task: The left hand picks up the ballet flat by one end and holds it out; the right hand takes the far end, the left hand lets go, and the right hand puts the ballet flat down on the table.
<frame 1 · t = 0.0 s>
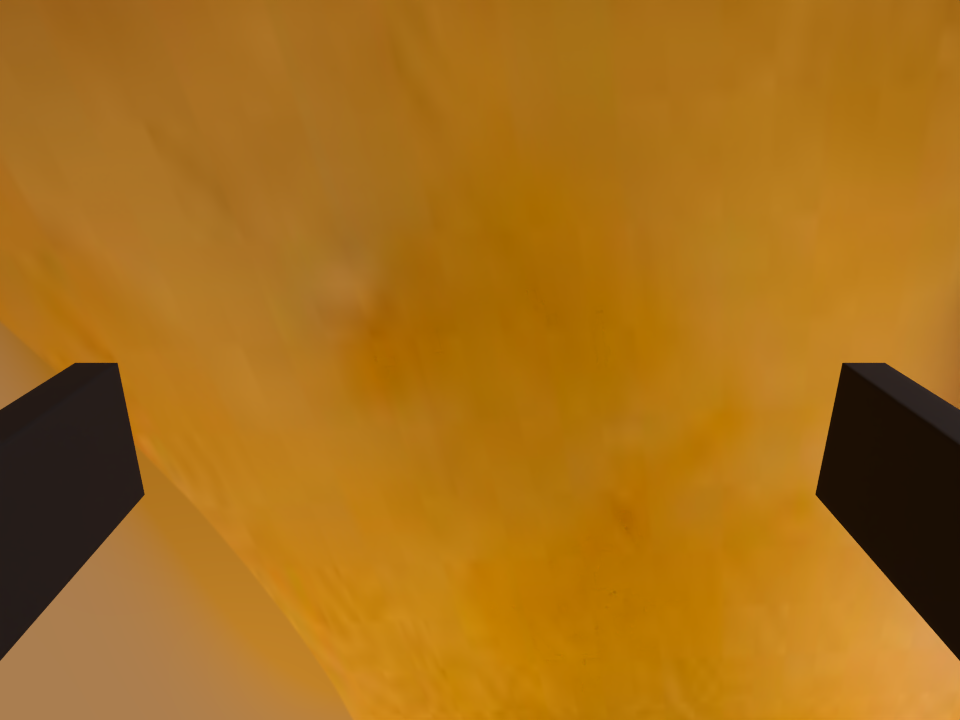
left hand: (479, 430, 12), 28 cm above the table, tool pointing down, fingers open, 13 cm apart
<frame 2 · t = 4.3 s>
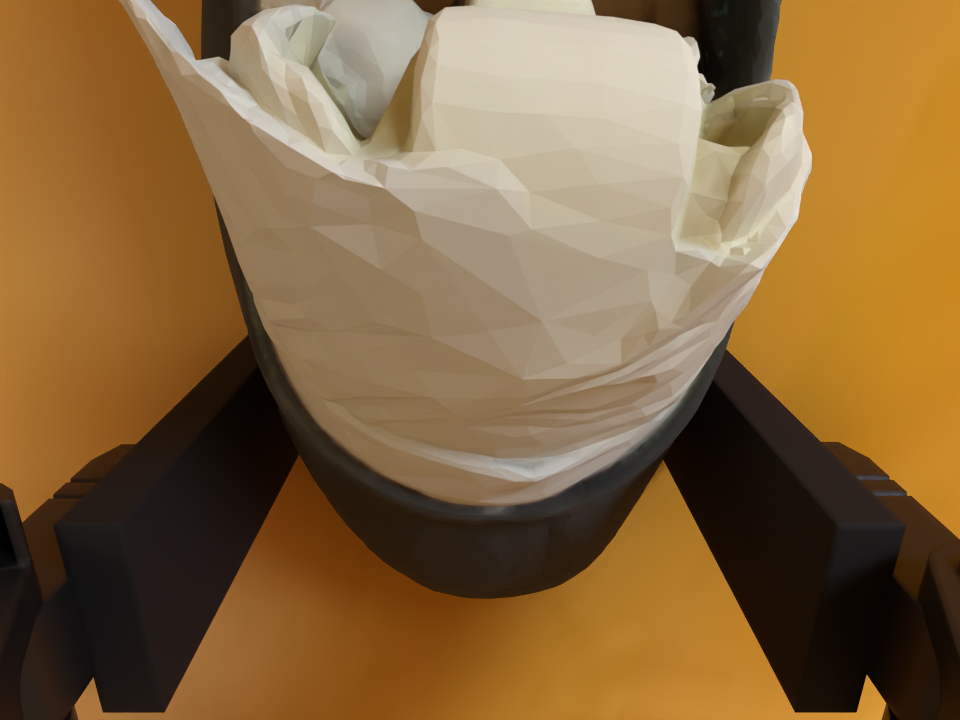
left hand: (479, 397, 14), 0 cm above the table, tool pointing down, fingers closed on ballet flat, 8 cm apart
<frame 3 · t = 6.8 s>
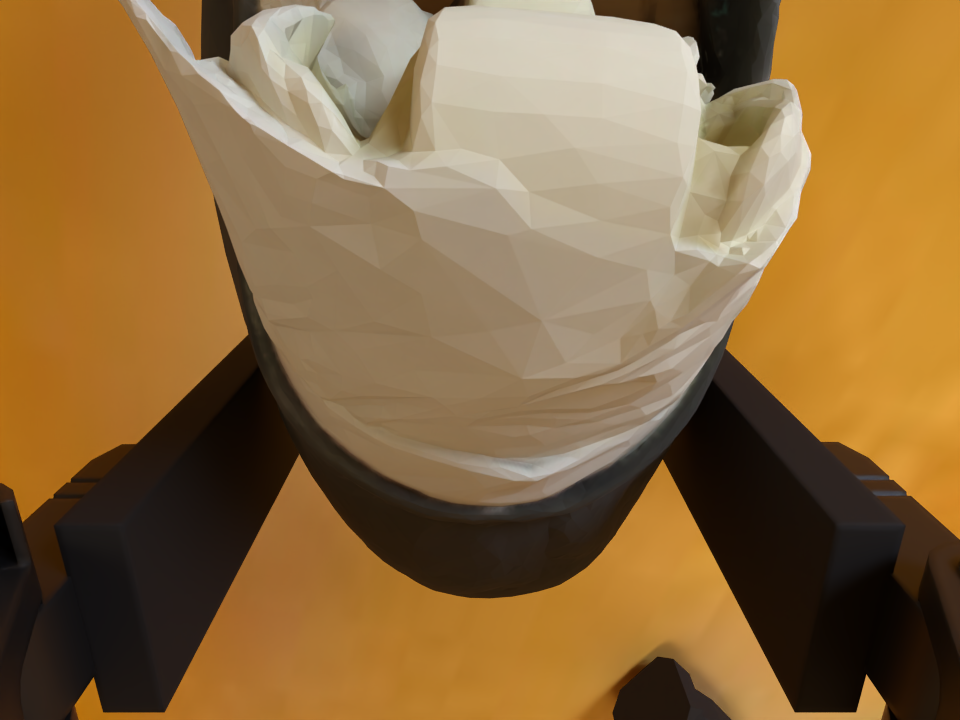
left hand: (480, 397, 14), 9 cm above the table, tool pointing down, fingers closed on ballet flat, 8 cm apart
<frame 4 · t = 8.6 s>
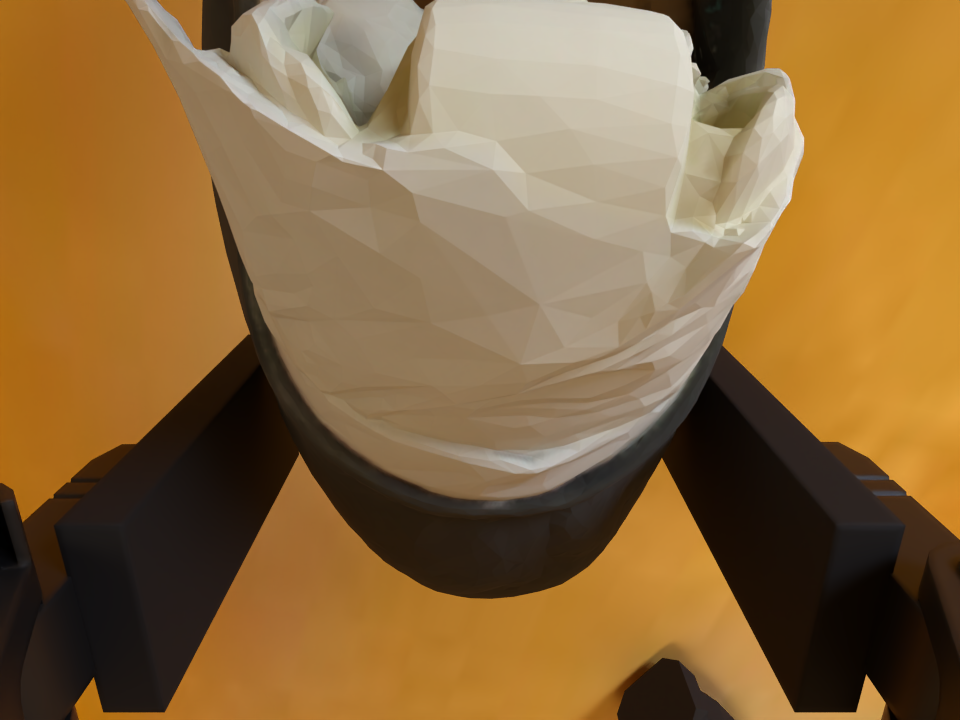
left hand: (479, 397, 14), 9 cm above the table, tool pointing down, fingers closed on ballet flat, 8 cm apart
when the left hand's fingers open (9 cm above the table, at t = 9.6 s): ballet flat stays where it is, held by the right hand.
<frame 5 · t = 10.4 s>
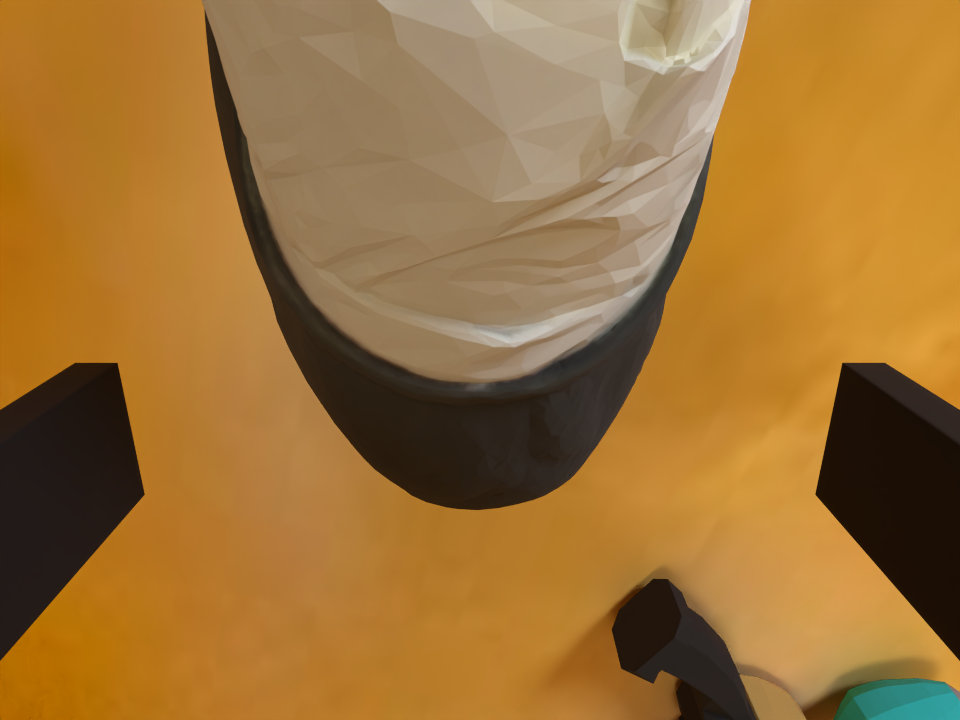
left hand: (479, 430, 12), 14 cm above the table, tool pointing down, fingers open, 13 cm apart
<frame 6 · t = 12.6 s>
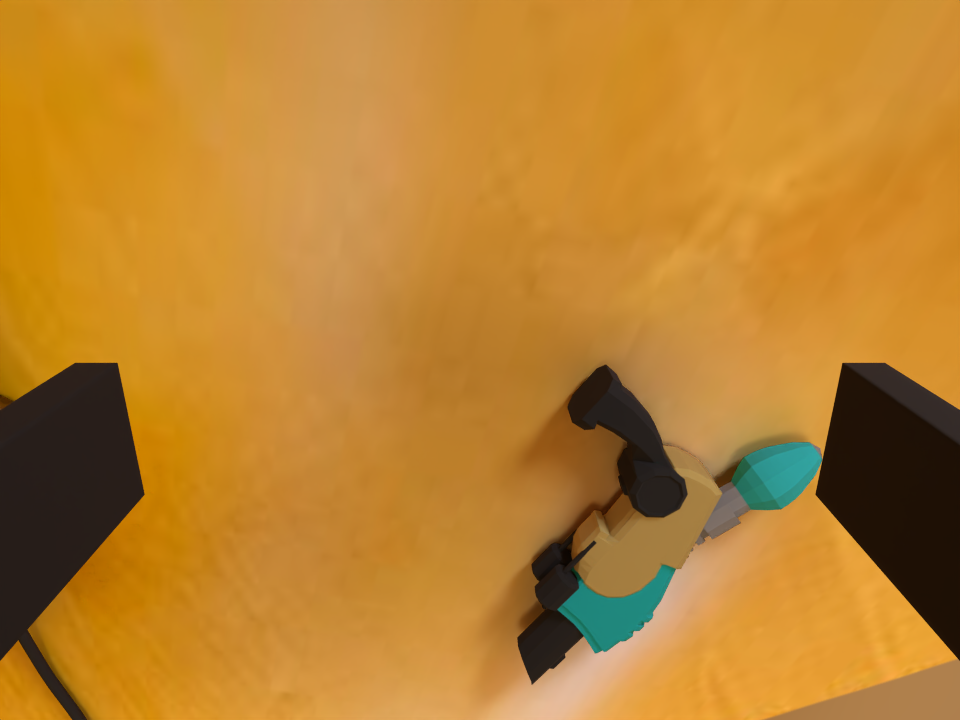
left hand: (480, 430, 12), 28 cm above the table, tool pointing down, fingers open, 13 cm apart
toy gun 2: (600, 510, 46), on the table
when the right hand's fingers open (5 cm above the table, at t = 17.0 s): ballet flat stays where it is, on the table.
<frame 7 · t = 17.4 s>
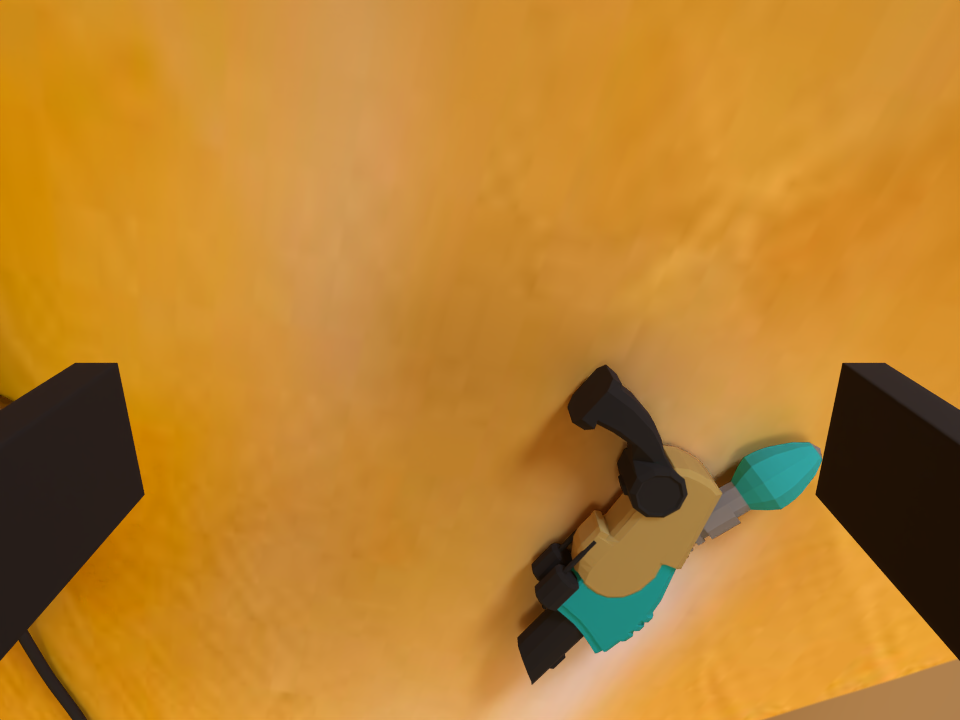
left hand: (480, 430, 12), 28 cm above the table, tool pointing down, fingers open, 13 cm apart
toy gun 2: (600, 510, 46), on the table
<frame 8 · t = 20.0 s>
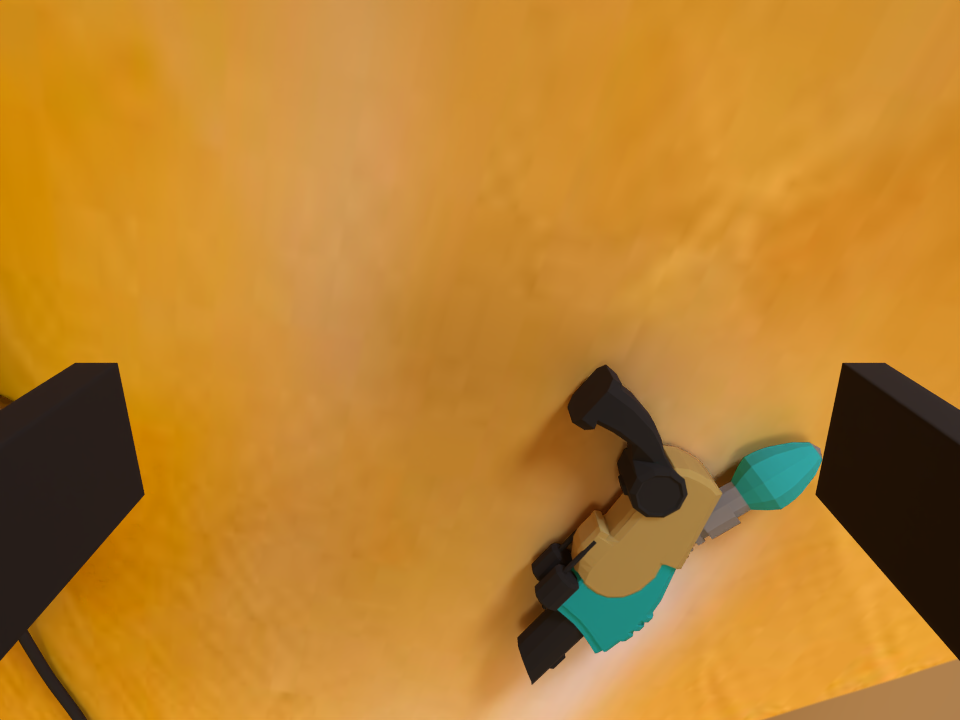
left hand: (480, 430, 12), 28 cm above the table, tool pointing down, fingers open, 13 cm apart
toy gun 2: (600, 510, 46), on the table
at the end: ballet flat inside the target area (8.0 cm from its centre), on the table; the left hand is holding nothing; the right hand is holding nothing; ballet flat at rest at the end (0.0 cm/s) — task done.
